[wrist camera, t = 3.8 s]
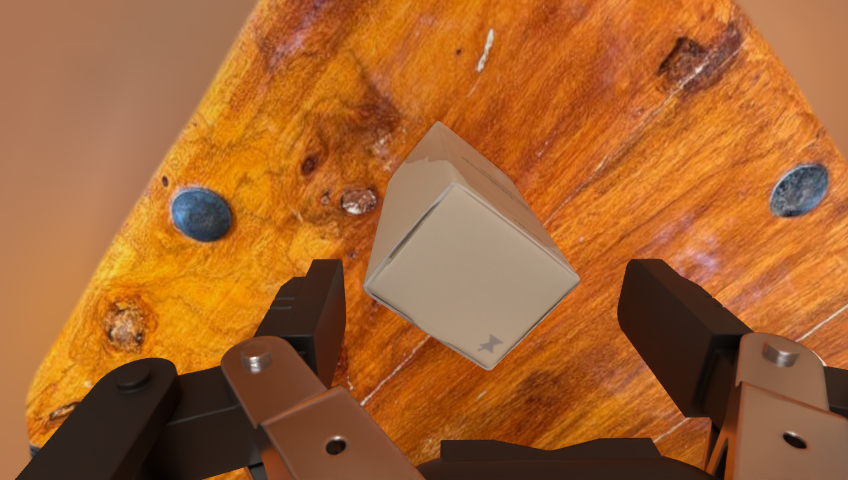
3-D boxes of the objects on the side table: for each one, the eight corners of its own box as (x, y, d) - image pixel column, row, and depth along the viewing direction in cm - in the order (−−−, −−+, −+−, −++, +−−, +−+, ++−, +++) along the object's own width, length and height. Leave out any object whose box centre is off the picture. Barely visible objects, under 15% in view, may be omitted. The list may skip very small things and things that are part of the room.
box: (512, 179, 23) (594, 287, 13) (458, 239, 24) (494, 381, 14) (433, 114, 21) (453, 177, 11) (380, 182, 23) (356, 294, 13)
